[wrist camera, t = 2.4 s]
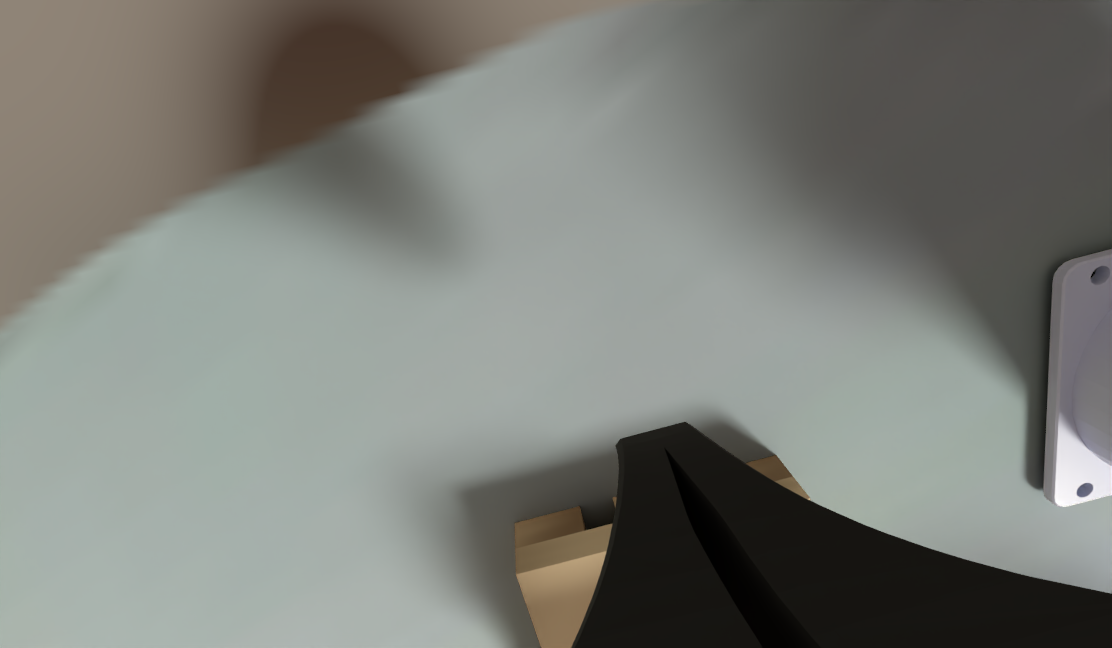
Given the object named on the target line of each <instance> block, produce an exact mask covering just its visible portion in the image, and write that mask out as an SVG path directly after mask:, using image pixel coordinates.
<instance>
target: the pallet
mask: <svg viewBox="0 0 1112 648" xmlns="http://www.w3.org/2000/svg"><path fill="white" fill-rule="evenodd" d="M746 464H747V465H749V466H751V467H752V468H754V469H755V470H757V471H758V472H760V473H762V474H763V475H765V476H766V477H768V478H770V479H772V480H773V481H775V482H777V483H778V484H780V485H782V486H784V487H785V488H787V489H789V490H791V491H793V492H795V493H796V494H798V495H800V496H802V497H804V498H806V499H808V500H810V498H809V496H808V495H807V494H806V492H805V491H804V490H803V489H802V487H801V486H800V485H799V484H798V482H797V481H796V480H795V478H794V477H793V476H792V475H791V473H790V472H789V471H788V470H787V468H786V467H785V466H784V465H783V463H782V462H781V461H780V459H779V458H778V457H777V456H776V455H774V456H770V457H767V458H763V459H759V460H755V461H751V462H747V463H746ZM616 499H617V497H613V502H614V506H615V508H616ZM612 524H613V523H612ZM612 524H608V525H604V526H601V527H597V528H593V529H589V530H586V526H585V523H584V519H583V516H582V512H581V509H580V506H578V507H574V508H571V509H567V510H563V511H559V512H555V513H551V514H548V515H544V516H540V517H536V518H532V519H528V520H524V521H521V522H517V523H515V558H516V576H517V579H518V582H519V585H520V588H521V591H522V594H523V597H524V599H525V602H526V605H527V608H528V611H529V614H530V617H531V620H532V623H533V626H534V628H535V631H536V634H537V637H538V640H539V643H540V646H541V648H571V647H572V645H573V642H574V640H575V638H576V636H577V634H578V631H579V629H580V627H581V624H582V622H583V619H584V617H585V614H586V612H587V609H588V607H589V604H590V601H591V599H592V596H593V594H594V591H595V588H596V585H597V582H598V579H599V576H600V573H601V569H602V566H603V562H604V559H605V555H606V551H607V547H608V543H609V538H610V534H611V529H612Z"/></svg>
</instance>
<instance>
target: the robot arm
mask: <svg viewBox="0 0 1112 648" xmlns="http://www.w3.org/2000/svg"><path fill="white" fill-rule="evenodd" d="M1095 269H1096V272H1095V275H1094V276H1093V277H1092V278H1091V275H1092V273H1093V271H1094V270H1095ZM616 449H617V453H618V459H619V480H618V491H617V499H616V508H615V514H614V519H613V524H612V529H611V534H610V538H609V543H608V547H607V551H606V555H605V559H604V562H603V566H602V569H601V573H600V576H599V579H598V582H597V585H596V588H595V591H594V594H593V596H592V599H591V601H590V604H589V607H588V609H587V612H586V614H585V617H584V619H583V622H582V624H581V627H580V629H579V631H578V634H577V636H576V638H575V640H574V642H573V645H572V647H571V648H1112V594H1110V593H1105V592H1100V591H1096V590H1091V589H1086V588H1081V587H1077V586H1072V585H1067V584H1062V583H1058V582H1053V581H1048V580H1043V579H1038V578H1034V577H1029V576H1025V575H1021V574H1017V573H1013V572H1009V571H1006V570H1002V569H998V568H994V567H991V566H987V565H983V564H980V563H976V562H972V561H969V560H965V559H962V558H958V557H955V556H952V555H949V554H945V553H942V552H939V551H935V550H932V549H929V548H926V547H923V546H920V545H918V544H915V543H912V542H909V541H906V540H903V539H901V538H898V537H895V536H892V535H889V534H886V533H884V532H881V531H878V530H876V529H873V528H871V527H868V526H866V525H863V524H861V523H858V522H856V521H854V520H852V519H849V518H847V517H845V516H842V515H840V514H838V513H836V512H833V511H831V510H829V509H827V508H824V507H822V506H820V505H818V504H816V503H814V502H812V501H810V500H808V499H806V498H804V497H802V496H800V495H798V494H796V493H795V492H793V491H791V490H789V489H787V488H785V487H784V486H782V485H780V484H778V483H777V482H775V481H773V480H772V479H770V478H768V477H766V476H765V475H763V474H762V473H760V472H758V471H757V470H755V469H754V468H752V467H751V466H749V465H747V464H746V463H744V462H743V461H741V460H740V459H738V458H737V457H735V456H734V455H732V454H731V453H729V452H728V451H726V450H725V449H723V448H722V447H720V446H719V445H718V444H716V443H715V442H713V441H712V440H711V439H709V438H708V437H706V436H705V435H704V434H702V433H701V432H700V431H698V430H697V429H696V428H694V427H693V426H691V425H690V424H688V423H686V422H682V423H679V424H675V425H671V426H667V427H664V428H660V429H656V430H652V431H648V432H645V433H641V434H637V435H633V436H629V437H626V438H622V439H620V440H619V442H618V443H617V445H616ZM1043 492H1044V496H1045V497H1046V499H1047V500H1049V501H1050V502H1052V503H1053V504H1054V505H1056V506H1059V507H1066V506H1071V505H1075V504H1078V503H1082V502H1086V501H1090V500H1094V499H1098V498H1102V497H1105V496H1109V495H1112V249H1109V250H1105V251H1102V252H1098V253H1094V254H1090V255H1086V256H1082V257H1079V258H1075V259H1071V260H1069V261H1067V262H1065V263H1063V264H1062V265H1061V266H1060V267H1059V268H1058V269H1057V271H1056V272H1055V274H1054V278H1053V283H1052V306H1051V329H1050V351H1049V374H1048V397H1047V420H1046V443H1045V466H1044V489H1043Z"/></svg>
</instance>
